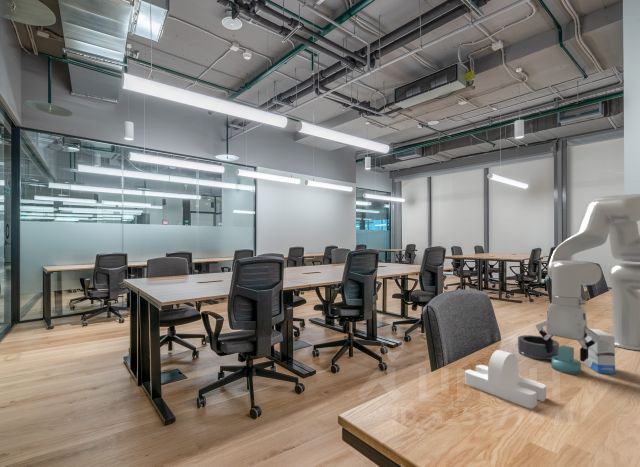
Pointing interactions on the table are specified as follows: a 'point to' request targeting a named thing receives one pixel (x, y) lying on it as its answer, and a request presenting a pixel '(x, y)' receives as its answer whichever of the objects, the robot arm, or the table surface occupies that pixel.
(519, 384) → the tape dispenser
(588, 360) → the ink box
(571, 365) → the cap
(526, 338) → the grey round hollow piece
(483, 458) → the table surface
